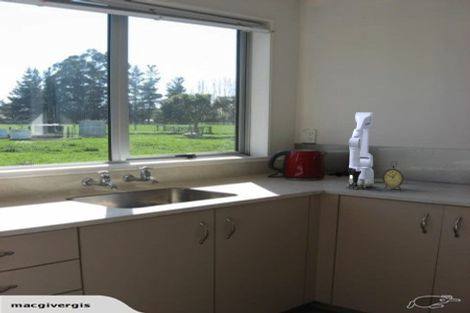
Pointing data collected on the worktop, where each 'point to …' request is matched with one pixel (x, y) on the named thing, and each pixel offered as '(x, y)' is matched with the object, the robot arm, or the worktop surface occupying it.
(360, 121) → the robot arm
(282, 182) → the worktop surface
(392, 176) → the alarm clock
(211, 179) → the worktop surface
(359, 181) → the duct socket
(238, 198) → the worktop surface
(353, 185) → the collar
